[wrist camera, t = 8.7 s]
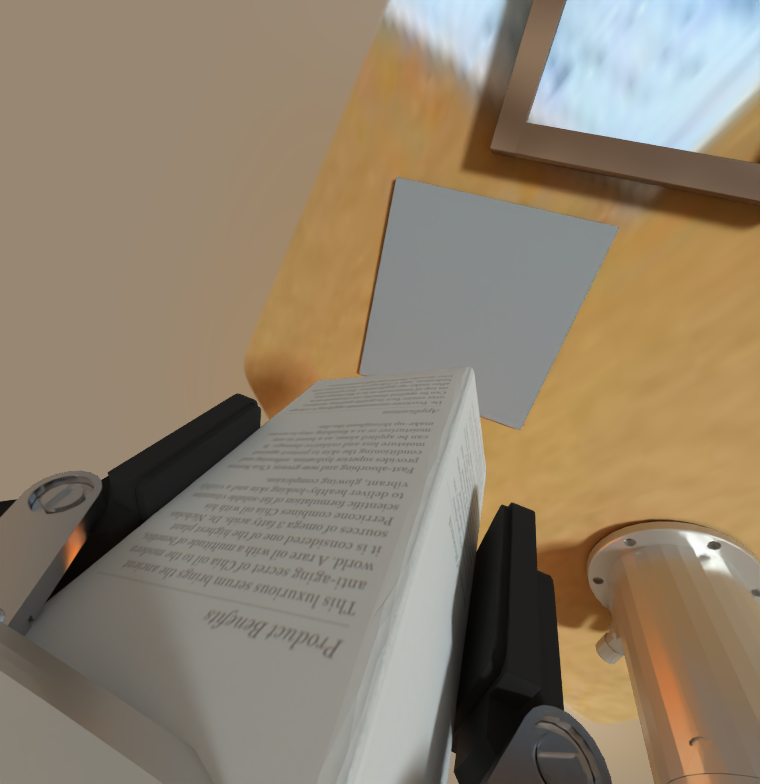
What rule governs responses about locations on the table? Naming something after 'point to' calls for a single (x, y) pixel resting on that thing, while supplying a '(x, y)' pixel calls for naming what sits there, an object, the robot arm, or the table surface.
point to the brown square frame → (600, 151)
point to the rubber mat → (479, 291)
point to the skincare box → (301, 590)
